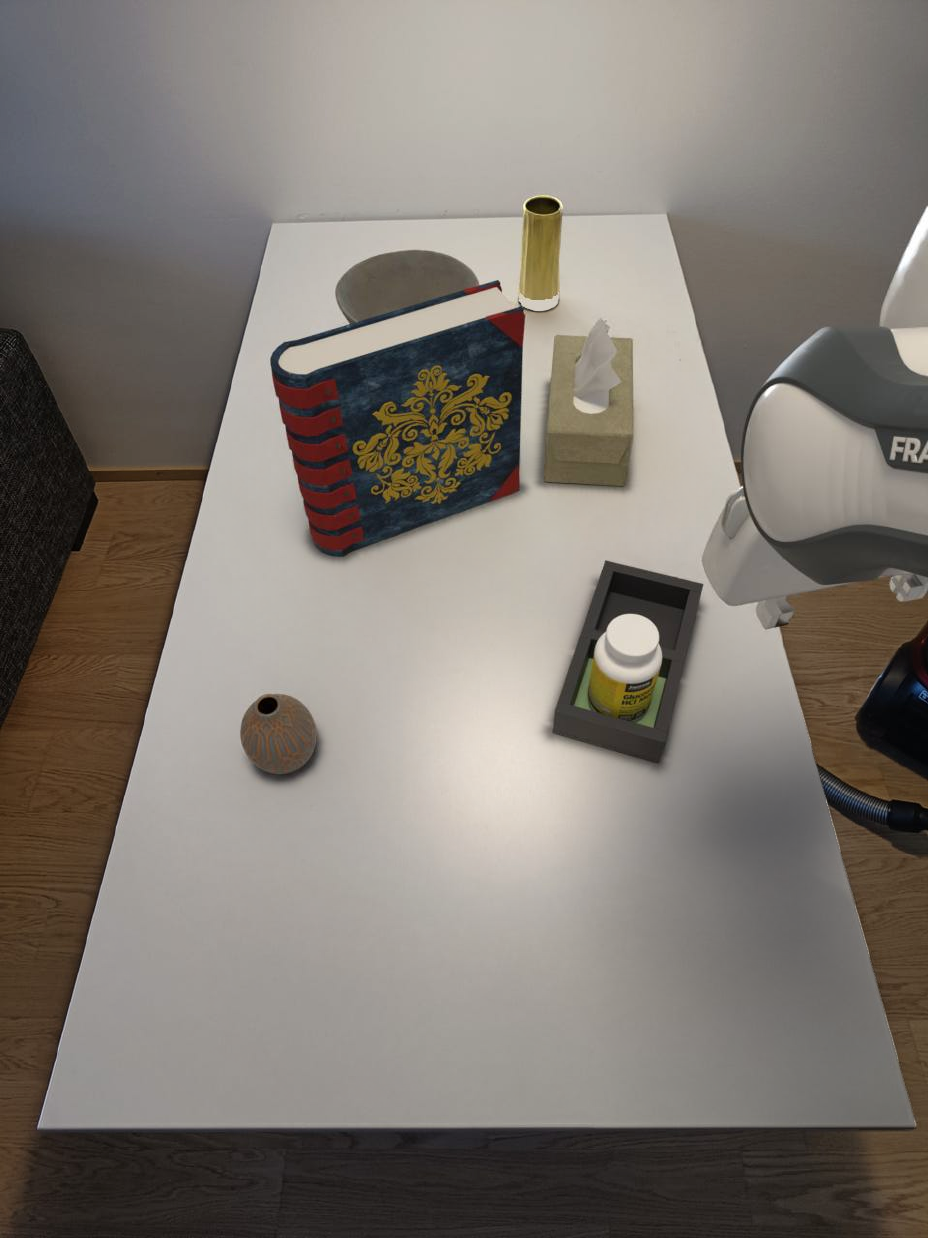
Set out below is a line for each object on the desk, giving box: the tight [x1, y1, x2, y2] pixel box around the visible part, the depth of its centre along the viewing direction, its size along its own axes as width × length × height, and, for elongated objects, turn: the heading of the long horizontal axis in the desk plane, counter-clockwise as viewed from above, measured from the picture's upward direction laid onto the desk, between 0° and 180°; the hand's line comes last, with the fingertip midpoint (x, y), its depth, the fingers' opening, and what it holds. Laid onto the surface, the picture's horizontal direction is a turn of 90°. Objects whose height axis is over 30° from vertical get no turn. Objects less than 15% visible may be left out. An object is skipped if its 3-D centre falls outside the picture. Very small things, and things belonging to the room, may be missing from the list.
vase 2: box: [517, 195, 564, 300], centre depth 123 cm, size 6×6×14 cm
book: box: [269, 279, 526, 557], centre depth 94 cm, size 25×7×25 cm, turn 115°
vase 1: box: [239, 693, 318, 775], centre depth 82 cm, size 7×7×9 cm
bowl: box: [334, 249, 480, 324], centre depth 118 cm, size 19×19×10 cm
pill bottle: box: [588, 614, 662, 722], centre depth 83 cm, size 6×6×11 cm
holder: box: [552, 560, 704, 764], centre depth 89 cm, size 20×10×4 cm, turn 161°
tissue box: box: [543, 317, 634, 487], centre depth 105 cm, size 19×10×16 cm, turn 174°
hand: (837, 606), depth 58 cm, fingers open, 8 cm apart
